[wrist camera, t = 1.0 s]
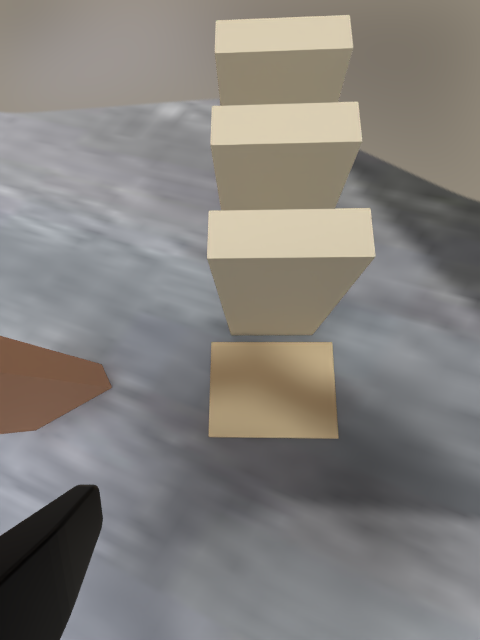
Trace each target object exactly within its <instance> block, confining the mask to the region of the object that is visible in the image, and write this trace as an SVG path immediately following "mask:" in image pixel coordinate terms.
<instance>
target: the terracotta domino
mask: <svg viewBox="0 0 480 640" xmlns="http://www.w3.org/2000/svg"><path fill="white" fill-rule="evenodd" d="M111 388H112V387H111V384H110V382H109V380H108V378H107V375H106V373H105V371H104V369H103V367H102V364H99V363H95V362H91V361H88V360H84V359H81V358H77V357H74V356H70V355H67V354H63V353H59V352H56V351H52V350H49V349H45V348H42V347H38V346H35V345H31V344H27V343H24V342H20V341H17V340H13V339H10V338H6V337H3V336H0V434H6V433H15V432H24V431H34V430H37V429H39V428H41V427H43V426H44V425H46V424H48V423H50V422H51V421H53V420H55V419H57V418H59V417H60V416H62V415H64V414H66V413H68V412H69V411H71V410H73V409H75V408H77V407H78V406H80V405H82V404H84V403H86V402H87V401H89V400H91V399H93V398H95V397H96V396H98V395H100V394H102V393H103V392H105V391H107V390H109V389H111Z"/></svg>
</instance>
